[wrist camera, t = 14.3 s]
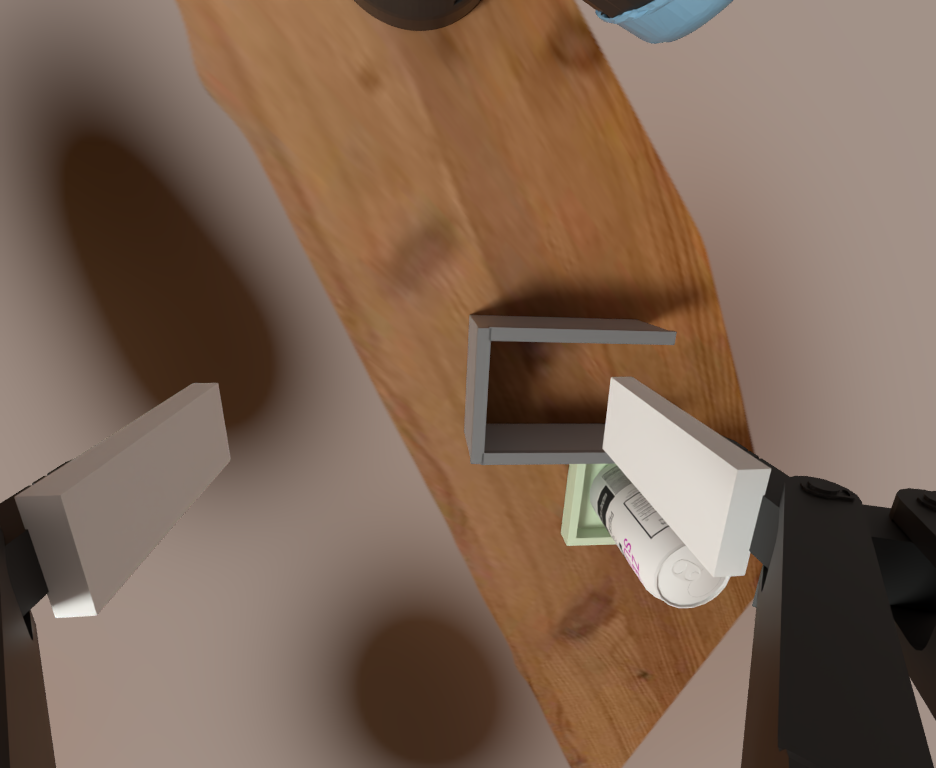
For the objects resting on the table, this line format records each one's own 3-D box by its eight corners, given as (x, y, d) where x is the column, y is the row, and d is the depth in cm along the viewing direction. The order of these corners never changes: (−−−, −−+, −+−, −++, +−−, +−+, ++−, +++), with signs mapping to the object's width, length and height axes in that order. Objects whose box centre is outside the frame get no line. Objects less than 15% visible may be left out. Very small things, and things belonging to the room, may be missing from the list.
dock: (468, 313, 46) (477, 326, 39) (637, 318, 48) (676, 331, 41) (463, 432, 50) (470, 464, 42) (620, 432, 52) (652, 463, 44)
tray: (572, 435, 51) (579, 444, 49) (679, 435, 53) (691, 444, 50) (560, 533, 55) (566, 545, 53) (660, 530, 56) (670, 542, 54)
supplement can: (667, 475, 54) (757, 559, 39) (624, 527, 55) (696, 626, 41) (616, 444, 52) (691, 520, 37) (573, 499, 53) (630, 592, 39)
